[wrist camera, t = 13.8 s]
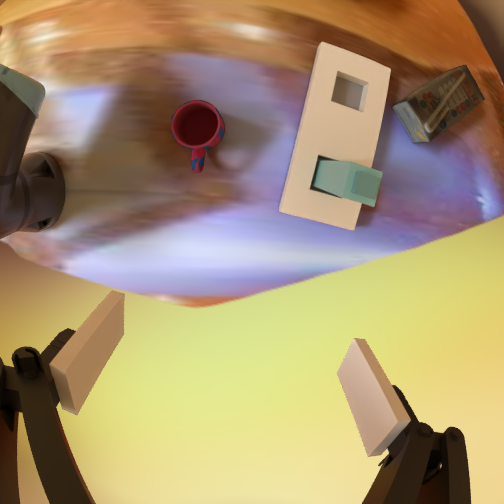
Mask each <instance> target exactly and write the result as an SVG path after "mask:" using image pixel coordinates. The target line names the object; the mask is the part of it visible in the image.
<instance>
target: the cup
mask: <svg viewBox="0 0 504 504" xmlns="http://www.w3.org/2000/svg"><path fill="white" fill-rule="evenodd" d="M171 131H172V134H173V137H174V138H175V140H176V141H177V142H178V143H179V144H181V145H182V146H184V147H186V148H190V149H192V170H193V172H194V173H201V172H202V170H203V166H204V156H205V150H208V149H211V148H213V147H215V146H216V145H217V144H218V143H219V142H220V141H221V140H222V138H223V136H224V132H225V125H224V121H223V119H222V117H221V116H220V114H219V112H218V110H217V109H216V108H215V107H214V106H213V105H212V104H210V103H208V102H206V101H202V100H193V101H189V102H187V103H185V104H183V105H182V106H180V107H179V108H178V109H177V110H176V112H175V113H174V115H173V117H172V121H171Z"/></svg>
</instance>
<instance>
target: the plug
mask: <svg viewBox="0 0 504 504" xmlns="http://www.w3.org/2000/svg"><path fill="white" fill-rule="evenodd" d="M382 175H383V172H380V171H378V170H375V169H372V168H369V167H366V166H363V165H360V164H357V163H354V162H351V161H322V160H317V163H316V167H315V171H314V175H313V179H312V183H311V185H312V186H315V187H317V188H320V189H322V190H325V191H327V192H330V193H332V194H335V195H337V196H339V197H342V198H345V199H349V200H352V201H356V202H359V203H362V204H366V205H369V206H372V207H374V206H375V202H376V199H377V195H378V191H379V187H380V183H381V179H382Z"/></svg>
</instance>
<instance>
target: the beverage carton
mask: <svg viewBox="0 0 504 504" xmlns="http://www.w3.org/2000/svg"><path fill="white" fill-rule="evenodd" d="M484 100H485V99H484V97H483V95H482V93H481V91H480V89H479V88H478V85H477V83H476V81H475V80H474V78H473V77H472V75H471V73H470V71H469V69H468V67H467V66H466V65H462V66H459V67H456V68H454V69H451V70H449V71H446V72H445V73H443V74H441V75H439V76H438V77H436V78H435V79H433V80H431V81H430V82H428V83H426V84H425V85H423V86H421V87H420V88H418V89H417V90H415V91H414V92H412V93H411V94H410V95H408V96H407V97H405V98H404V99H403V100H401V101H399V102H397V103H396V104H395V105H394V106H392V109H393V110H394V112H395V113H396V115H397V116H398V118H399V120H400V121H401V123H402V125H403V127H404V128H405V130H406V132H407V134H408V135H409V137H410V139H411V141H412V142H413V143H420V142H430V141H431V140H432V139H434V138H435V137H437V136H438V135H439V134H441V133H442V132H444V131H445V130H446V129H447V128H449V127H450V126H452V125H453V124H454V123H456V122H457V121H458V120H460V119H461V118H462V117H464V116H465V115H466V114H468V113H469V112H470V111H472V110H473V109H474V108H475V107H477V106H478V105H479V104H480V103H481V102H483V101H484Z"/></svg>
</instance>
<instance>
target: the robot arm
mask: <svg viewBox="0 0 504 504" xmlns="http://www.w3.org/2000/svg"><path fill="white" fill-rule="evenodd" d="M44 97H45V88H44V86H43V85H42V84H41V83H39V82H37V81H36V80H34V79H32V78H30V77H28V76H26V75H24V74H22V73H20V72H17V71H15V70H13V69H10V68H8V67H6V66H4V65H2V64H0V239H2V238H4V237H6V236H8V235H10V234H12V233H14V232H16V231H22V232H40V231H42V230H45V229H47V228H49V227H51V226H52V225H53V224H54V223H55V222H56V221H57V219H58V218H59V216H60V214H61V212H62V209H63V205H64V200H65V183H64V178H63V174H62V171H61V169H60V167H59V165H58V163H57V162H56V161H55V160H54V158H52V157H51V156H50V155H48V154H46V153H43V152H35V153H29V154H26V155H24V151H25V148H26V145H27V142H28V139H29V136H30V134H31V131H32V128H33V126H34V123H35V120H36V119H38V116H39V114H38V113H39V110H40V108H41V105H42V102H43V100H44ZM23 155H24V156H23ZM123 335H124V293H120V292H116V291H111V292H110V293H109V294H108V295H107V297H106V298H105V299H104V300H103V301H102V302H101V303H100V304H99V305H98V307H97V308H96V309H95V310H94V311H93V312H92V313H91V315H90V316H89V317H88V318H87V319H86V320H85V321H84V323H83V324H82V325H81V326H80V327H79V329H78V330H77V331H74V330H71V329H69V328H67V329H66V330H64V331H62V332H60V333H59V334H58V335H57V336H56V337H55V338H54V340H53V341H52V342H51V343H50V345H48V346H47V348H46V349H45V350H44V351H43V352H42V353H41V354H40V353H39V352H38V351H37V350H36V349H35V348H32V347H21V348H19V349H17V350H15V352H14V353H13V354H12V361H13V365H14V367H10V366H5V365H4V364H3V361H2V359H1V358H0V504H20V498H19V488H18V472H17V431H18V416H19V412H22V413H23V418H24V423H25V427H26V431H27V436H28V440H29V444H30V447H31V451H32V455H33V458H34V461H35V464H36V468H37V471H38V474H39V477H40V479H41V482H42V485H43V487H44V490H45V493H46V495H47V498H48V500H49V503H50V504H96V503H95V502H94V500H93V498H92V496H91V494H90V492H89V490H88V488H87V486H86V484H85V482H84V480H83V478H82V475H81V473H80V471H79V469H78V466H77V464H76V462H75V459H74V457H73V454H72V452H71V449H70V447H69V444H68V441H67V439H66V436H65V433H64V430H63V427H62V424H61V421H60V418H59V415H58V411H57V408H56V406H57V405H58V403H59V401H60V403H61V406H62V409H64V410H66V411H68V412H70V413H73V414H75V415H78V413H79V411H80V409H81V407H82V405H83V403H84V402H85V400H86V398H87V396H88V394H89V392H90V391H91V389H92V387H93V385H94V384H95V382H96V380H97V378H98V377H99V375H100V373H101V371H102V370H103V368H104V366H105V365H106V363H107V361H108V360H109V358H110V356H111V355H112V353H113V351H114V349H115V348H116V346H117V345H118V343H119V341H120V340H121V338H122V336H123ZM337 374H338V377H339V380H340V382H341V385H342V387H343V390H344V393H345V395H346V398H347V401H348V403H349V406H350V409H351V411H352V413H353V416H354V419H355V422H356V425H357V427H358V430H359V433H360V436H361V438H362V441H363V444H364V447H365V450H366V452H367V455H368V457H370V456H378V455H381V454H382V453H383V452H384V451H385V450H386V449H387V448H388V451H389V454H388V455H387V456H386V457H385V458H384V459H383V460H382V461H381V462H380V463H379V465H378V466H380V465H381V464H383V465H382V466H381V469H380V471H379V473H378V475H377V477H376V479H375V481H374V482H373V485H372V486H371V488H370V490H369V492H368V494H367V495H366V497H365V499H364V501H363V502H362V504H471V493H470V478H469V468H468V459H467V452H466V445H465V439H464V435H463V433H462V432H461V431H460V430H459V429H458V428H455V427H449V428H447V429H446V431H445V432H444V433H438V432H434V431H433V429H432V428H431V427H430V426H429V425H427V424H426V423H422V422H419V421H418V419H417V418H416V416H415V414H414V412H413V410H412V409H411V407H410V405H408V402H407V400H406V399H405V396H404V395H403V393H402V392H401V390H400V389H399V388H398V387H397V386H395V385H391V383H390V381H389V380H388V378H387V376H386V374H385V373H384V371H383V369H382V367H381V366H380V364H379V362H378V361H377V359H376V357H375V355H374V354H373V352H372V350H371V349H370V347H369V345H368V344H367V342H366V340H365V339H358V338H354V339H353V341H352V343H351V346H350V348H349V350H348V352H347V354H346V356H345V358H344V360H343V362H342V364H341V366H340V368H339V370H338V372H337ZM441 464H442V467H441V468H440V465H441Z"/></svg>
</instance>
